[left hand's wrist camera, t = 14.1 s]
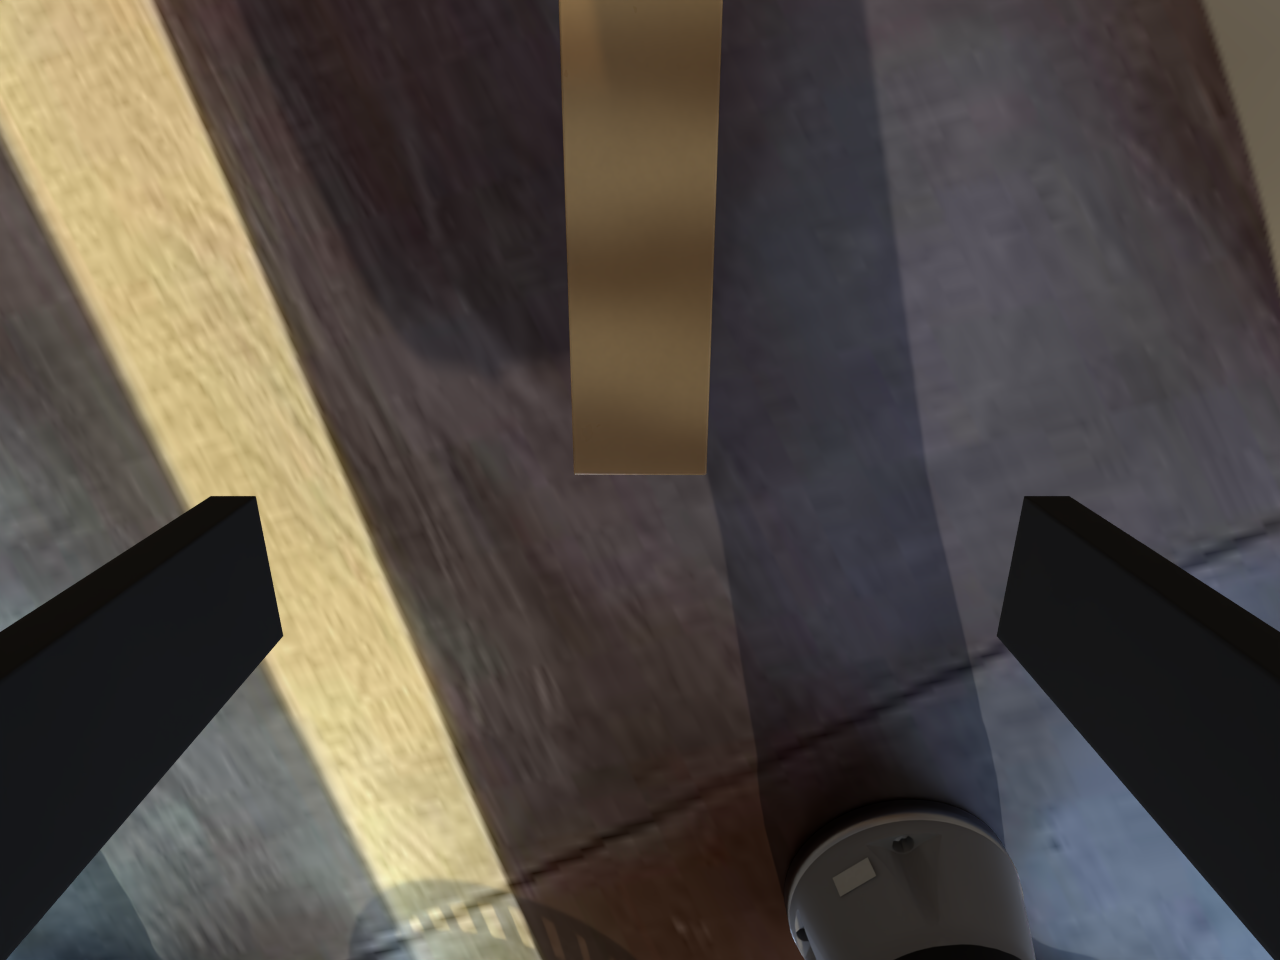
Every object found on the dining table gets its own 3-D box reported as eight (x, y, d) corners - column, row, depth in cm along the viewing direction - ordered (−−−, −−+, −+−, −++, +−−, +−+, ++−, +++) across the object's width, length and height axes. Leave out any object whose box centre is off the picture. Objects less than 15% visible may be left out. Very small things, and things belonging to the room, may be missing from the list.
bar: (691, 418, 38) (706, 475, 29) (588, 418, 38) (573, 475, 29) (709, -266, 28) (739, -471, 20) (572, -266, 28) (542, -471, 20)
